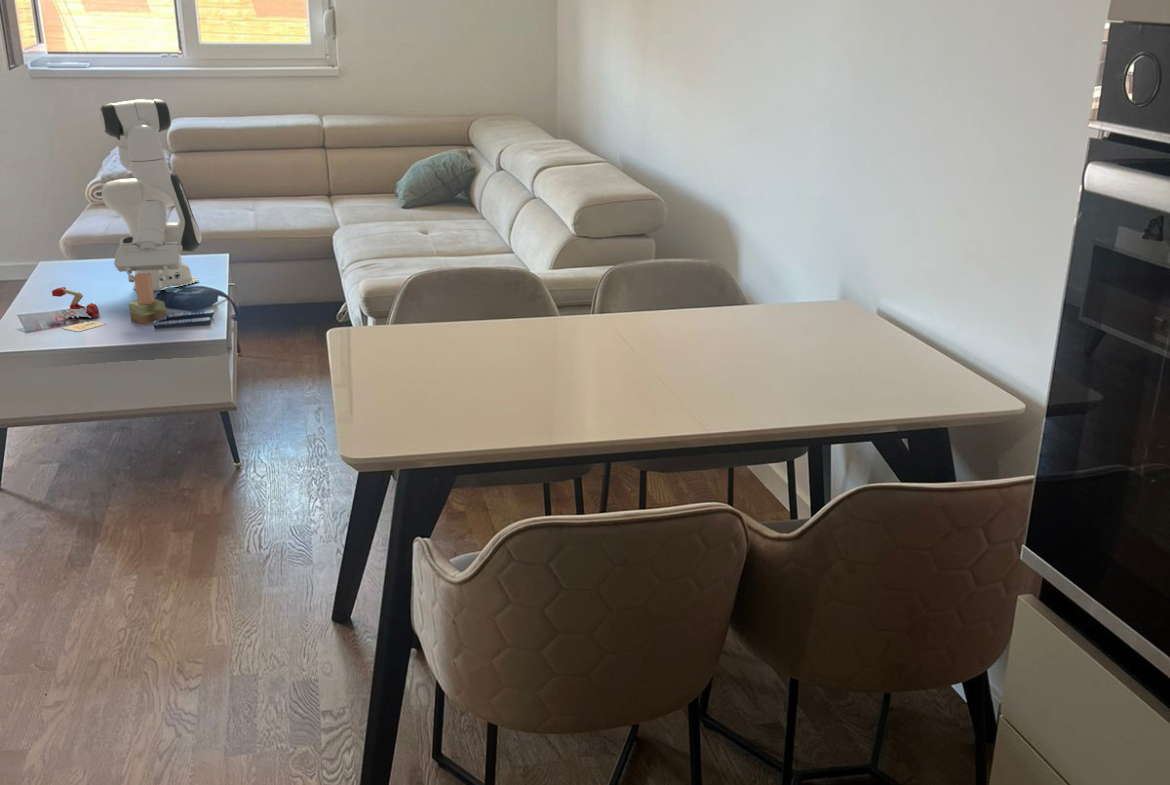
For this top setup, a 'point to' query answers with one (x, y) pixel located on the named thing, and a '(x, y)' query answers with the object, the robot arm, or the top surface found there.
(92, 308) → the toy fire truck
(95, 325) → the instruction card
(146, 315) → the tower base
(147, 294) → the terracotta column block
